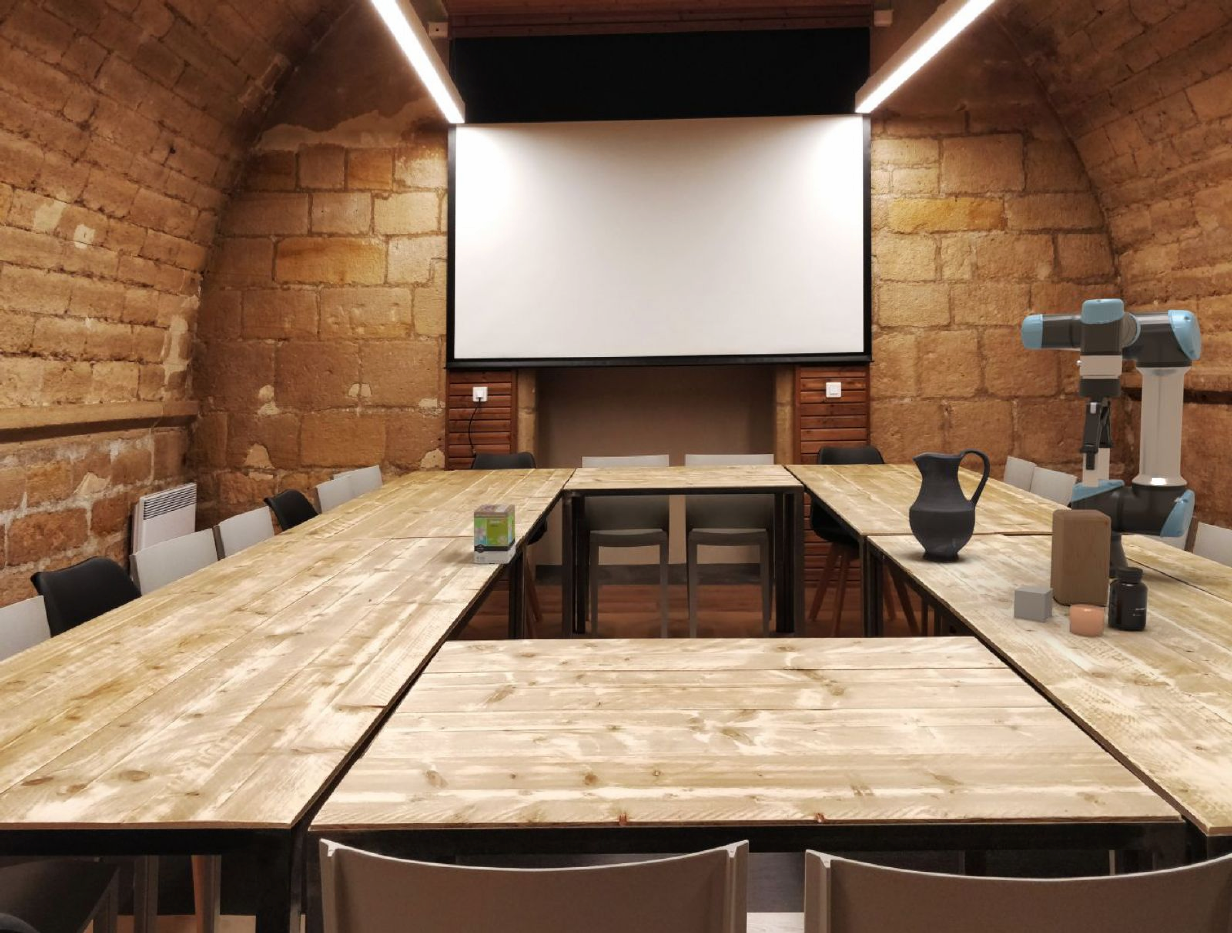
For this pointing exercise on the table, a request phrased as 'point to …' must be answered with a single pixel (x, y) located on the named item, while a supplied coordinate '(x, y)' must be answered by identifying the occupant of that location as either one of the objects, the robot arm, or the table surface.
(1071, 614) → the terracotta puck
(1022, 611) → the grey cube
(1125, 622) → the supplement bottle
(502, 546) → the tea box
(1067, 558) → the wooden block
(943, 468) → the pitcher
